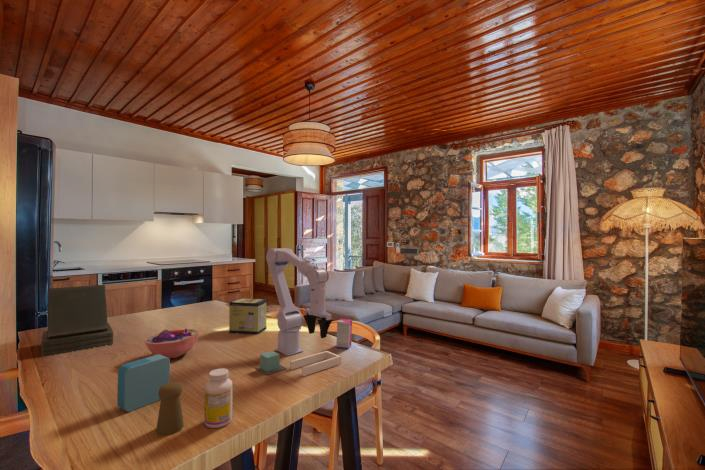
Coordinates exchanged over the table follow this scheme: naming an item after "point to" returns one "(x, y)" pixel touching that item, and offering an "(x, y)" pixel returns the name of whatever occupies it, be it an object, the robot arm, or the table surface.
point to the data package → (142, 381)
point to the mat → (271, 371)
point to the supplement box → (344, 333)
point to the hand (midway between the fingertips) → (317, 335)
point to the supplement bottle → (218, 399)
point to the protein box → (247, 316)
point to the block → (270, 361)
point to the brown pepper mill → (170, 409)
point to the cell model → (172, 342)
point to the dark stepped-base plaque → (76, 320)
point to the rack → (330, 362)
